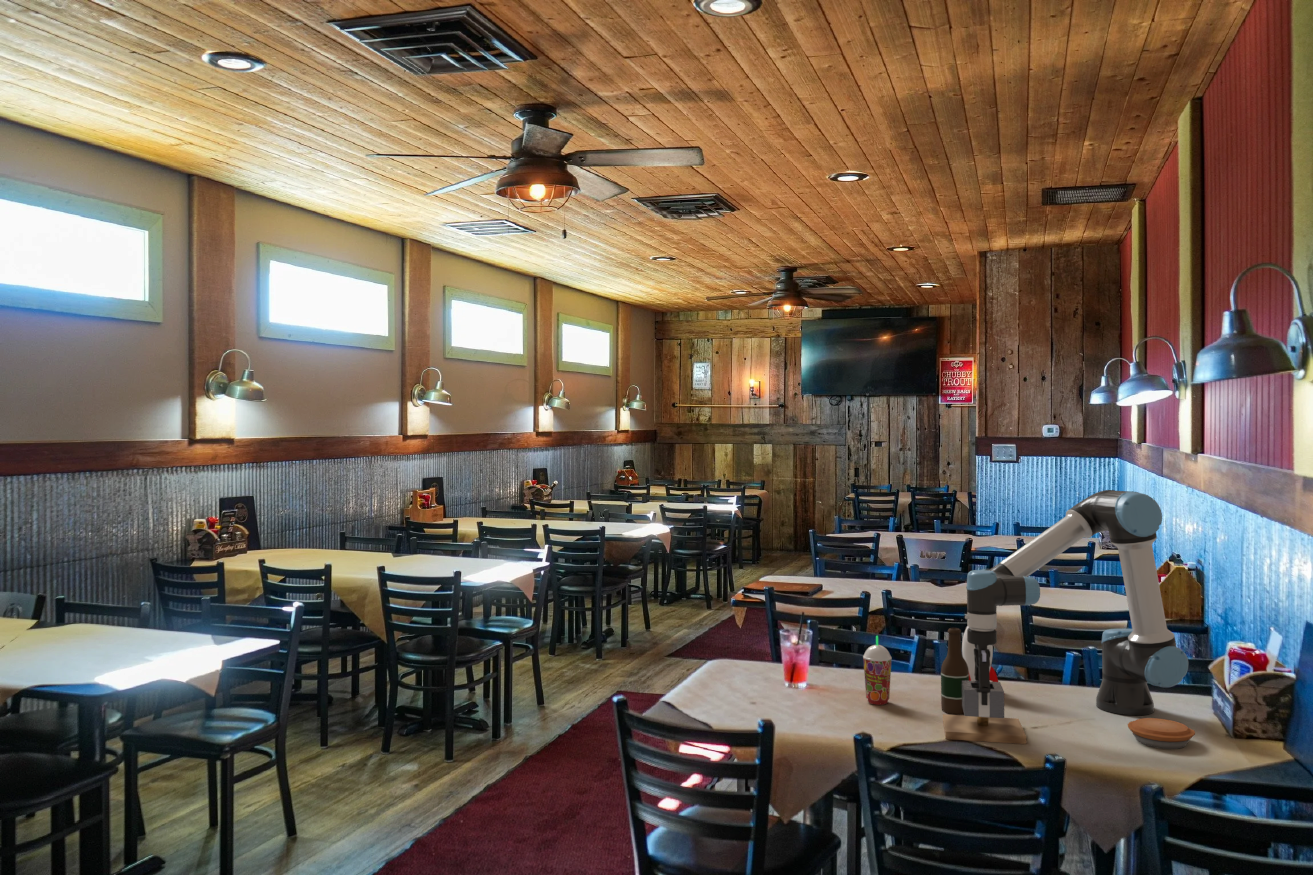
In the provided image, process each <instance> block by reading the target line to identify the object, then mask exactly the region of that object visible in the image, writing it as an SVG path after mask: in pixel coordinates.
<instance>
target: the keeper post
mask: <svg viewBox="0 0 1313 875" xmlns="http://www.w3.org/2000/svg"><path fill="white" fill-rule="evenodd" d="M977 725H978V726H983V727H986V726H989V717H977Z"/></svg>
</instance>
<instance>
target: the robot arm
mask: <svg viewBox="0 0 1313 875" xmlns="http://www.w3.org/2000/svg"><path fill="white" fill-rule="evenodd" d="M1162 522H1163V512H1162V508H1161V507H1160V506H1159V504H1158V501H1156V500H1155V499H1154V498H1153V497H1151V495H1148V494H1145V493H1142V492H1139V491H1138V492H1137V491H1134V490H1133V491H1127V490H1114V489H1104V490H1101V491H1098V492H1095V493H1093V494H1091V495H1089V496H1088V497H1086V498H1084V499H1083V500H1081V501H1080V502H1078V503H1076V504H1075V505H1073V506H1072V507H1070V508H1069V509H1068V510H1066V512H1065V516H1064V517H1062V518H1061V519H1060V520H1058V521H1057V522H1055V523H1054V524H1052V525H1051V526H1050V527H1049V528H1047V529H1046V530H1044V531H1043V532H1041V533H1040V534H1038V535H1037V536H1035V537H1034V538H1033V539H1032V540H1030V541H1028V542H1027V543H1025V545H1022V546H1021V547H1020V548H1019V549H1017V550H1016V551H1014V552H1013V553H1012V554H1010V555H1009V556H1007V557H1005V558H1004V559H1003V560H1002V561H1000V562H998V563H997V564H996V565H993V567H991V568H983V569H974V570H970V571H969V572H968V573H967V577H966V595H967V596H966V605H967V606H966V607H967V609H966V611H967V612H966V613H967V615H966V614H965V615H964V619H965V620H967V622H966V623H967V626H968V627H970V628H968V629H967V641H968V642H969V643H971V644H975V649H974V655H975V656H974V660H975V674H974V675H975V680H976V681H979V689H977V690H976V692H979V717H990V693H989V692H990V691H991V690H990V682H991V680H990V674H989V667H990V651H989V649H987V646H988V645H993V646H994V645H996V644H997V643H998V642H997V638H998V637H997V635H998V634H997V632H998V631H997V630H996V628H997V627H998V626H997V625H998V618H997V616H998V614H997V608H998V606H999V607H1002V606H1025V607H1026V606H1030V605H1031V606H1033V605H1035V604H1037V603H1038V602H1039V600H1040V598H1041V586H1040V584H1039V582H1038V580H1037V579H1036V578H1034V577H1033V576H1031V575H1032V574H1033V573H1035V572H1036V571H1038V570H1039V569H1041V568H1042V567H1044V566H1045V565H1046V564H1048V563H1049V562H1051V561H1052V560H1053V559H1055V558H1056V557H1058V556H1060V555H1061V554H1062V553H1063V552H1065V551H1066V550H1068V549H1069V548H1071V547H1072V546H1073V545H1075V544H1076V543H1077V542H1079V541H1081V540H1082V539H1084V538H1085V539H1090V538H1092V537H1094V535H1096V534H1099V533H1101V532H1107V531H1108V534H1109V535H1108V536H1109V540H1110V544H1112V545H1113V546H1115V547H1116V548H1117V551H1118V555H1119V562H1120V566H1121V572H1122V577H1123V578H1122V579H1123V583H1124V589H1125V595H1126V602H1127V606H1128V612H1129V617H1130V622H1131V623H1130V624H1131V628H1110V629H1109V628H1108V629H1105V630H1104V631H1103V632H1102V636H1101V642H1100V644H1101V649H1102V650H1101V656H1102V657H1101V658H1102V659H1101V660H1102V661H1101V662H1102V665H1101V666H1102V667H1101V668H1102V678H1101V679H1102V681H1101V684H1100V685H1099V689H1098V692H1097V694H1096V698H1095V699H1096V700H1095V705H1096V707H1097V708H1098V709H1100V710H1101V711H1105V712H1108V713H1109V712H1110V713H1112V714H1117V715H1125V716H1127V715H1128V716H1145V715H1150V714H1151V715H1152V714H1153V713H1154V712H1155V705H1154V704H1155V703H1154V700H1153V697H1152V694H1151V691H1150V689H1149V686H1148V684H1150V686H1151V685H1152V686H1154V687H1155V686H1156V687H1160V688H1172V687H1175V686H1177V685H1178V684H1180V683H1181V682H1182V681H1183V678H1184V677H1186V676H1187V672H1188V670H1189V659H1188V656H1187V654H1186V653H1185V651H1183V649H1181V648H1180V647H1177V643H1176V641H1177V640H1176V637H1175V636H1176V635H1175V633H1174V632H1172V631H1171V630H1169V629H1168V626H1167V620H1166V616H1165V610H1164V605H1163V604H1164V603H1163V599H1162V593H1161V589H1160V581H1159V577H1158V571H1157V565H1156V561H1155V560H1156V559H1155V555H1154V554H1155V553H1154V549H1153V543H1154V542H1155V541H1156V540H1157V539H1158V536H1157V531H1159V529H1160V526H1161V525H1162ZM967 626H966V627H967Z"/></svg>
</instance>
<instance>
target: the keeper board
mask: <svg viewBox="0 0 1313 875" xmlns="http://www.w3.org/2000/svg"><path fill="white" fill-rule="evenodd" d="M942 724H943V730H944V731H943V732H944V736H945V740H953V741H955V740H956V741H970V742H971V741H972V742H973V741H974V742H985V743H986V742H988V743H989V742H991V743H1005V744H1016V745H1017V744H1020V745H1027V735H1026V733H1025V730H1024V728H1023V727H1022V723H1021V721H1020V719H1019V718H1017V717H1016V718H1014V717H1013V718H1012V717H1004V718H991V717H989V726H986V727H983V726H978V725H977V717H974V716H964V714H962V715H954V714H947V713H946V714H945V713H944V714H942Z"/></svg>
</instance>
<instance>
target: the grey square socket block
mask: <svg viewBox="0 0 1313 875" xmlns="http://www.w3.org/2000/svg"><path fill="white" fill-rule="evenodd" d="M977 689H979V681H966V680H962V708H963V712H964V714H963V715H964V716H974V717H979V692H976V690H977ZM990 690H991V691H990V692H989V693H990V717H991V718H1005V691H1004V688H1003V686H1002V684H1001V682H999V681H998V682H992V681H990Z"/></svg>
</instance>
